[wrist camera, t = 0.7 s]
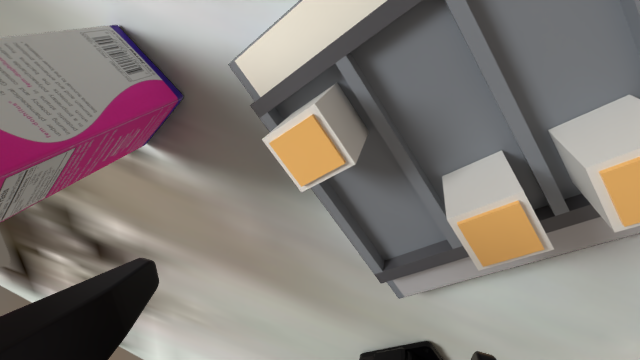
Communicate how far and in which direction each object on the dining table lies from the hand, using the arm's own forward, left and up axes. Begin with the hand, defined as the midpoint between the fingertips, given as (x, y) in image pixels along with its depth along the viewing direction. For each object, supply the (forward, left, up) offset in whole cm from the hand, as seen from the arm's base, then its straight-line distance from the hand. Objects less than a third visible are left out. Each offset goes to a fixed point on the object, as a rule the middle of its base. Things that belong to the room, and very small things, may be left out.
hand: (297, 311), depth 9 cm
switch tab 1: (+2, 0, -11) cm, 11 cm away
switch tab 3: (-5, -10, -11) cm, 15 cm away
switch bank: (-1, -5, -12) cm, 13 cm away
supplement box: (+11, +11, -12) cm, 20 cm away
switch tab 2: (-5, -5, -11) cm, 12 cm away
